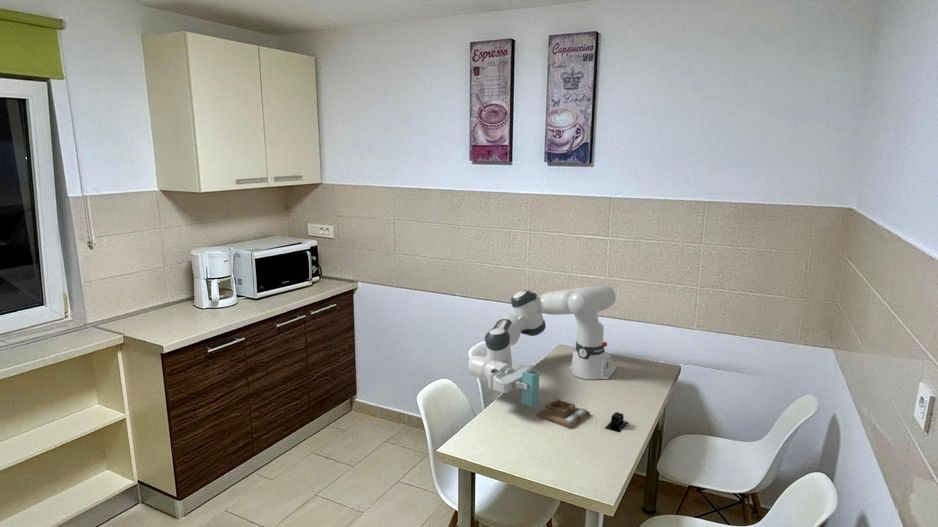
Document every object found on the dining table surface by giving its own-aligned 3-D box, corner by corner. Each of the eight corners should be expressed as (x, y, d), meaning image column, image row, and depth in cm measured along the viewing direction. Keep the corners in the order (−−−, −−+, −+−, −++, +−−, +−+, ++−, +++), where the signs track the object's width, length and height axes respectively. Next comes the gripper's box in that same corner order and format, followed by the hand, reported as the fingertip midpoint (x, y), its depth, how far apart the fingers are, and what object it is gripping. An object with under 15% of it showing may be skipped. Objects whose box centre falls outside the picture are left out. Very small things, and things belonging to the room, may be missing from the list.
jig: (557, 403, 209) (557, 394, 208) (589, 415, 200) (590, 405, 199) (536, 416, 198) (537, 406, 198) (569, 428, 189) (570, 418, 188)
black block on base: (619, 436, 185) (620, 424, 184) (599, 430, 189) (600, 418, 189) (632, 423, 195) (633, 411, 194) (613, 417, 199) (614, 405, 198)
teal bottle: (528, 398, 204) (529, 363, 201) (538, 402, 201) (539, 366, 198) (521, 402, 200) (522, 367, 198) (531, 406, 197) (532, 370, 195)
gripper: (518, 374, 216) (547, 383, 207) (485, 390, 201) (516, 401, 192) (518, 359, 215) (548, 367, 206) (486, 374, 199) (516, 384, 190)
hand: (532, 384), depth 199 cm, fingers closed on teal bottle, 4 cm apart
